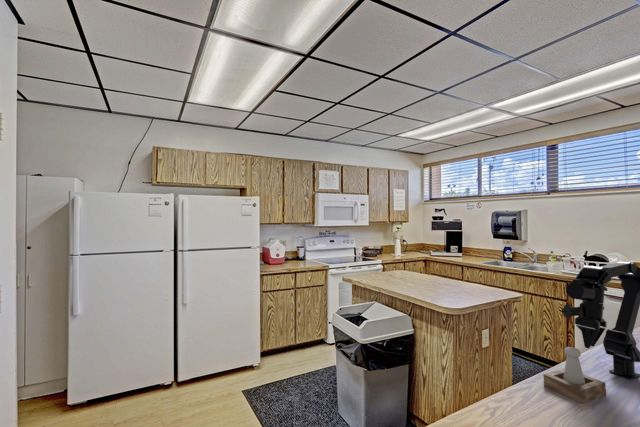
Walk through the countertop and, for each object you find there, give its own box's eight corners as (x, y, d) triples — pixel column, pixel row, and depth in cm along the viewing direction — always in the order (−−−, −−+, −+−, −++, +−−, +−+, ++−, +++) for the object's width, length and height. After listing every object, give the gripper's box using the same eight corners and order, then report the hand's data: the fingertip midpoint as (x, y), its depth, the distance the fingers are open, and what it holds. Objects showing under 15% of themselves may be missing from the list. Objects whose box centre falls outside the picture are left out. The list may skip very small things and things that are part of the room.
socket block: (567, 379, 117) (566, 367, 117) (606, 395, 106) (605, 382, 106) (544, 385, 113) (543, 374, 113) (582, 403, 101) (581, 390, 102)
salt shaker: (589, 392, 106) (587, 351, 106) (570, 391, 107) (568, 351, 107) (578, 383, 112) (576, 345, 112) (560, 382, 113) (558, 344, 113)
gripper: (570, 297, 127) (567, 338, 125) (558, 296, 114) (554, 341, 113) (608, 304, 118) (605, 348, 117) (599, 303, 106) (596, 352, 104)
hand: (589, 347), depth 113 cm, fingers open, 9 cm apart
